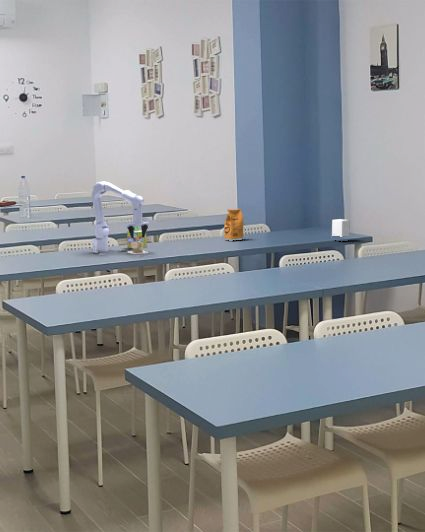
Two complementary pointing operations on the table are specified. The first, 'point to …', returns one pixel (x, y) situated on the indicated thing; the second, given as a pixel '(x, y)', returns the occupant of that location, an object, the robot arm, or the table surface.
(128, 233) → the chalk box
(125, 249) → the rail plate
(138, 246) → the beech block
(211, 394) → the table surface
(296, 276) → the table surface
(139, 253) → the parts tray
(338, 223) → the supplement box
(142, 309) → the table surface
